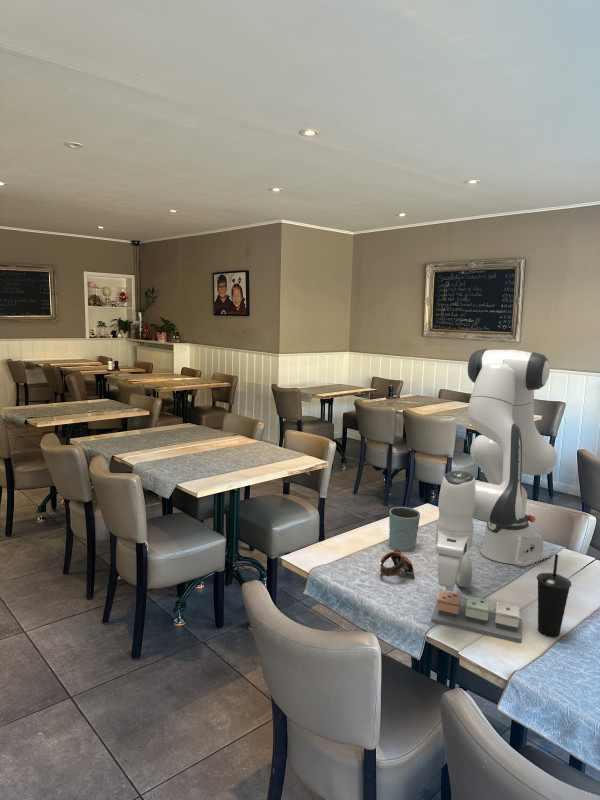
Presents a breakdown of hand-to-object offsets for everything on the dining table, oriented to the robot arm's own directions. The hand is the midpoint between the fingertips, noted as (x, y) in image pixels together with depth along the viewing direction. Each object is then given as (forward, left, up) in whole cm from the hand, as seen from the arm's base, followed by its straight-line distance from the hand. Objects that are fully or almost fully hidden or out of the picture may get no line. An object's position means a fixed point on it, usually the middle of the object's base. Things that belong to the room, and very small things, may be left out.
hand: (449, 588), depth 141 cm
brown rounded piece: (0, -24, -8) cm, 25 cm away
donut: (-14, -12, -8) cm, 20 cm away
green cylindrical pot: (-13, -41, -8) cm, 44 cm away
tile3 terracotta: (0, 0, -5) cm, 5 cm away
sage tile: (-5, +5, -5) cm, 9 cm away
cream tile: (-10, +10, -5) cm, 15 cm away
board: (-5, +5, -8) cm, 10 cm away
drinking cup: (-19, +14, -8) cm, 25 cm away
